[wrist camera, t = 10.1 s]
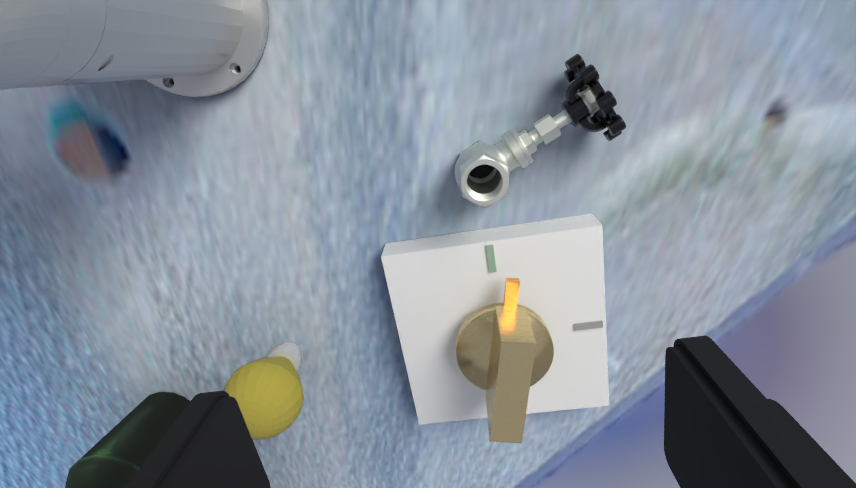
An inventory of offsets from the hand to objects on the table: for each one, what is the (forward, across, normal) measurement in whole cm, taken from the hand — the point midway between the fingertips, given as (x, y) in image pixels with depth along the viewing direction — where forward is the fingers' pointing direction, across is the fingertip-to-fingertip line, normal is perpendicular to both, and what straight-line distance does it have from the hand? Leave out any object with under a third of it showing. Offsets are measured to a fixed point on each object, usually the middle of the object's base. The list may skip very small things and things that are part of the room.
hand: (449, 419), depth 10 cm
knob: (+27, -2, +15) cm, 31 cm away
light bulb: (+31, +19, +17) cm, 40 cm away
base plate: (+30, -2, +16) cm, 34 cm away
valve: (+31, -6, 0) cm, 31 cm away
